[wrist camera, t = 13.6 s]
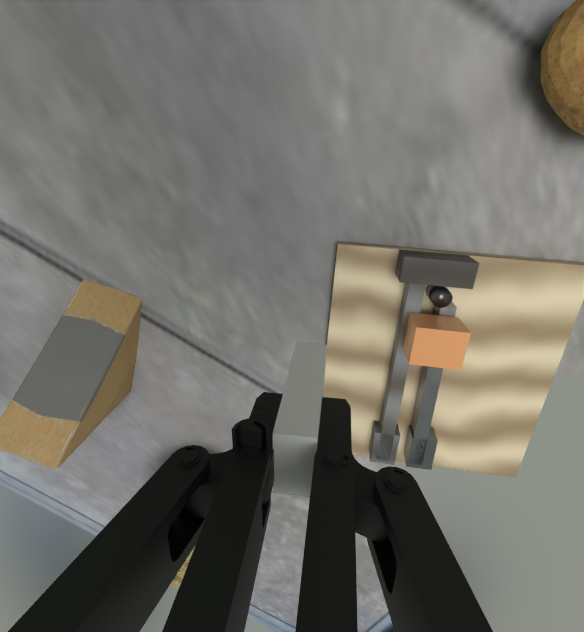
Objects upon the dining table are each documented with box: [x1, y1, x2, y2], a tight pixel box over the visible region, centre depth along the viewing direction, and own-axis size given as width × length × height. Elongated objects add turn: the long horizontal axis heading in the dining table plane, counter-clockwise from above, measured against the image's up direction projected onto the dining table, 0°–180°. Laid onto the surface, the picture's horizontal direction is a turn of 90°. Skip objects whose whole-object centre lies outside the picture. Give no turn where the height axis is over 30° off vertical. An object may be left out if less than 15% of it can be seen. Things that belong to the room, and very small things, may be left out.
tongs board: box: [323, 242, 584, 477], centre depth 42 cm, size 28×26×5 cm
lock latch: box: [403, 312, 471, 370], centre depth 37 cm, size 4×5×4 cm
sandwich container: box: [0, 280, 142, 469], centre depth 43 cm, size 9×15×15 cm, turn 164°
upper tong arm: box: [404, 285, 457, 470], centre depth 42 cm, size 24×4×3 cm, turn 178°
